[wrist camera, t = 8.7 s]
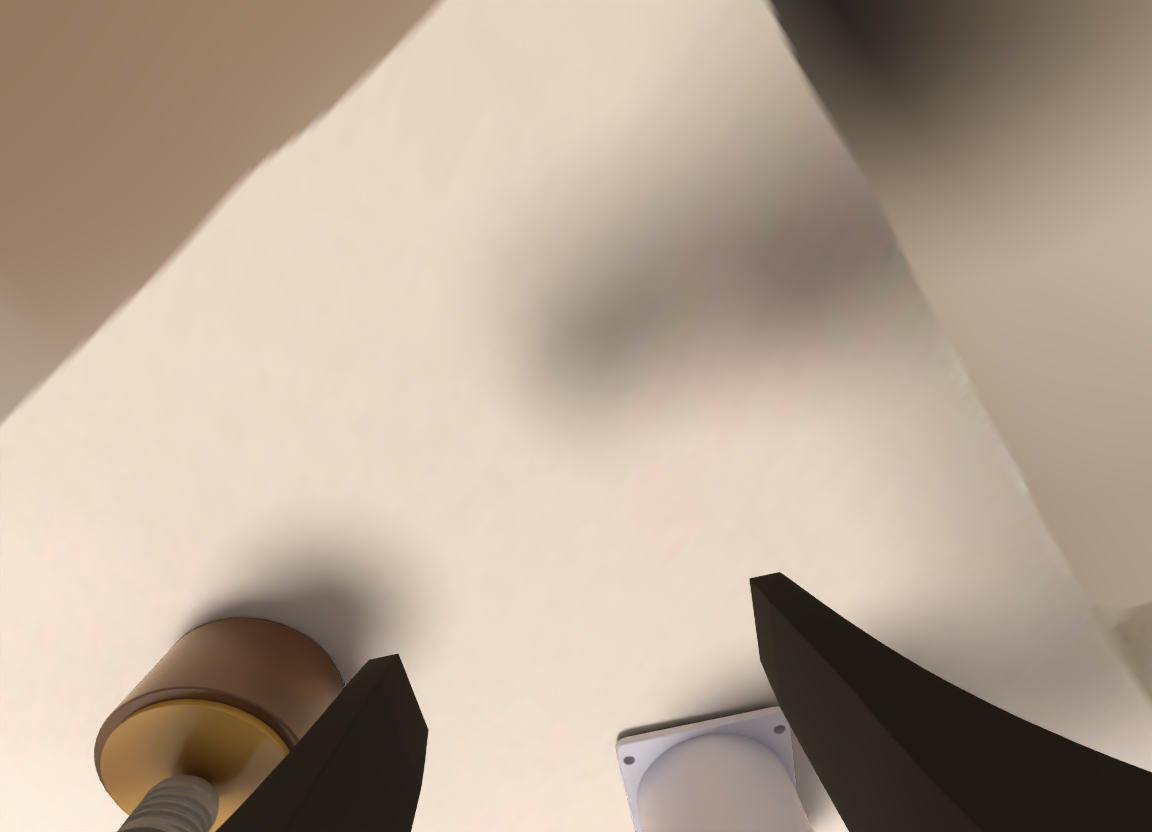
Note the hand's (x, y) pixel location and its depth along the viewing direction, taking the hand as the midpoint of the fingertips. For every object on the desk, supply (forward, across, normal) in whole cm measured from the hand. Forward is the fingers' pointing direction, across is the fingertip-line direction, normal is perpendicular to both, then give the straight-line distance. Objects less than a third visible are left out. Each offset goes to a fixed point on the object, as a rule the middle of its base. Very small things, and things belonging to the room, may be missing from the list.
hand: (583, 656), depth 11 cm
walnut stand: (+10, +15, +7) cm, 20 cm away
